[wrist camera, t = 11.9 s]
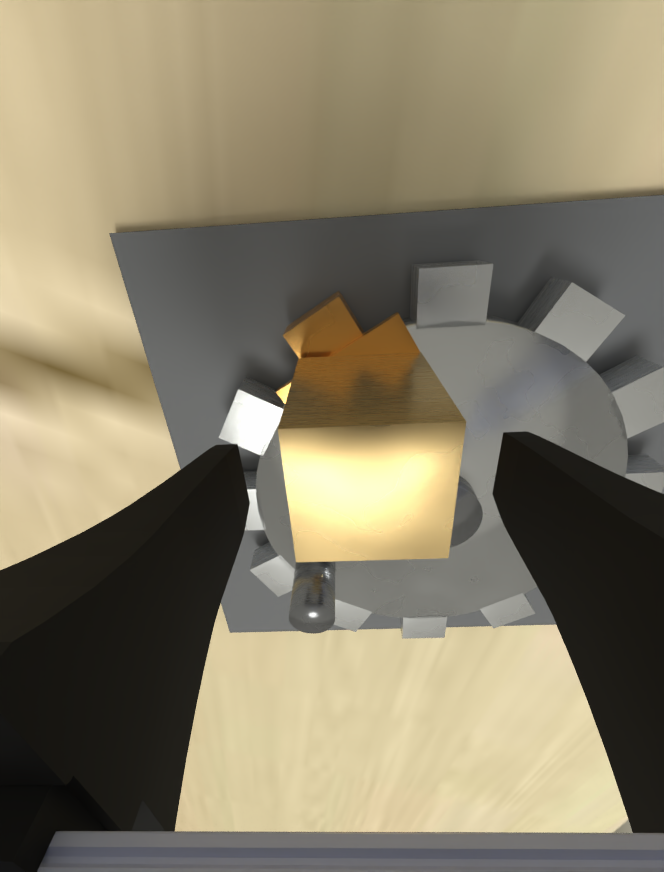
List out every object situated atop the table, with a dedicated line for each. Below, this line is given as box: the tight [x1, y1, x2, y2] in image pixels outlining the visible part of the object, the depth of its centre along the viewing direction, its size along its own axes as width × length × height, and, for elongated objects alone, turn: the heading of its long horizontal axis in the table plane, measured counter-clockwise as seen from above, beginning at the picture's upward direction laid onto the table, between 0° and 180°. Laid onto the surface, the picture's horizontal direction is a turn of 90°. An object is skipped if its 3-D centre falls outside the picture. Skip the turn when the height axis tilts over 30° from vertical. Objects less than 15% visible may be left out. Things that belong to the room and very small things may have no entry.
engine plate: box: [109, 195, 664, 633], centre depth 17 cm, size 22×21×1 cm
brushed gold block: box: [278, 352, 466, 562], centre depth 11 cm, size 4×4×5 cm
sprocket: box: [219, 260, 664, 638], centre depth 15 cm, size 18×18×4 cm
